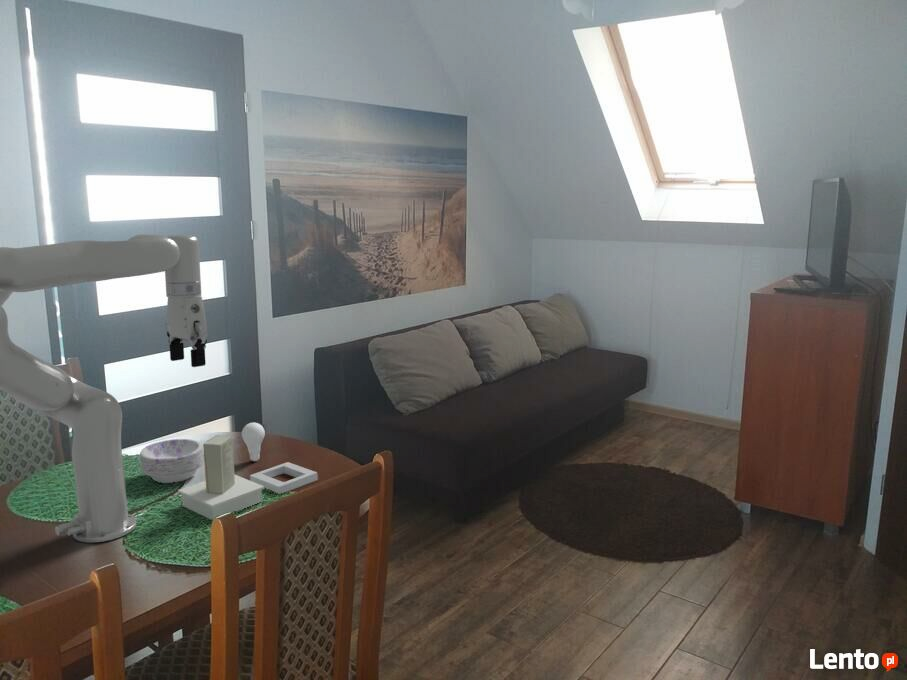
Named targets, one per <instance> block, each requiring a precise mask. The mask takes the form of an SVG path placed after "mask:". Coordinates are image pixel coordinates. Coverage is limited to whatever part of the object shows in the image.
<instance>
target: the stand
mask: <svg viewBox="0 0 907 680" xmlns="http://www.w3.org/2000/svg"><path fill="white" fill-rule="evenodd" d="M234 476H235V484H234V485H233V486H232V487H231V488H230V489H228V490H227V491H226V492H225V493H223V494H218V493H207V492H206V480H204V481H202V482H201V481H200V482H197V483H195V484H191V485H189V486H186V487H183V488H180V489H177V490H178V491H177V492H178V493H179V494H180V495H181V502H182V503H181V504H182V507H184V508H187V509H189V510H190V511H193V512H194V513H196V514H199V515H201V516H202V517H205V518H207V519H209V520H211V521H213V520H212V519H213V518H214V517H216V516H218V515H221V514H223V513H227V512H233V511H238V510H241V511H243V510H242V509H244V508H246V509H248V508H247V507H249V506H251V507H253V506H252V505H254V504H257V503H259V502H262V503H263V497H262V496H263V493H262V491H263V490H265V488H264V486H262V485H260V484H257V483H255V482H252V481H250V479H247V478H245V477H242V476H239V475H237V474H235V473H234ZM259 504H260V503H259ZM257 505H258V504H257ZM254 506H255V505H254ZM249 508H250V507H249ZM244 510H245V509H244ZM238 512H239V511H238ZM233 514H235V513H234V512H233Z"/></svg>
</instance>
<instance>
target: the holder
mask: <svg viewBox="0 0 907 680" xmlns="http://www.w3.org/2000/svg"><path fill="white" fill-rule="evenodd" d="M283 474H284V475H288V476H291V477H293V478H292V479H289V480H287V481H281V480H279V479H277V478H275V477H277V476H280V475H281V476H282V475H283ZM249 480H250V481H252V482H255V483H257V484H260V485H262V486H264V487H265V488H268V489H270V490H272V491H274V492H273V493H275V492H276V493H275V494H277V493H278V494H277V495H282V494H284V492H285V493H287V492H289V491H292V490H296V489H298V488H300V487H303V486H306V485H308V484H311V483H314V482H316V481H318V480H319V475H318V472H317V471H314V470H311V469H309V468H306V467H303V466H300V465H297V464H294V463H291V462H289V461H287V462H284V463H281V464H278V465H275V466H272V467H270V468H267V469H264V470H261V471H258V472H256V473H252V474H249ZM265 488H264V489H265ZM270 490H269V491H270ZM272 491H271V492H272ZM281 493H282V494H281Z"/></svg>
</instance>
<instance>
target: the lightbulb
mask: <svg viewBox="0 0 907 680" xmlns="http://www.w3.org/2000/svg"><path fill="white" fill-rule="evenodd" d="M265 435H266V432H265V428H264V427H263V425H261V424H260V423H258V422H249V423H247V424H245V425H244V427H243V428H242V431H241V439H242V440H243V441H244V443H245V445H246V446H247V451H248V454H249V460H250V461H252V462H258V460H260V452H261V447H262V446H261V445H262V443H263V441H264V438H265Z"/></svg>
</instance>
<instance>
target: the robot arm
mask: <svg viewBox="0 0 907 680" xmlns="http://www.w3.org/2000/svg"><path fill="white" fill-rule="evenodd" d="M199 243H200V242H199V240H198V238H197V236H195V235H191V234H170V235H159V234H137V235H133V236H132V237H131V236H130V237H129V239H128V240H114V241H113V240H111V241H110V240H107V241H105V240H71V241H65V242H59V243H52V244H51V243H50V244H42V245H41V244H40V245H33V246H25V247H24V246H23V247H15V248H14V247H7V246H1V247H0V390H1V391H2V392H4V393H7V394H8V395H9V396H10V397H11V398H12V399H14V401H16V402H19V403H20V404H22V405H25V406H27V407H28V408H31V409H33V410H35V411H37V412H38V413H40V414H43V415H45V416H47V417H49V418H52V419H53V420H55V421H58V422H59V423H61V424H64V425H65V426H68V427H69V428H71V429H72V430H73V433H72V434H73V436H72V437H73V438H72V444H71V445H72V446H71V455H72V456H71V459H72V466H73V474H74V482H75V483H74V484H75V491H76V500H77V509H78V513H75V514H73V519H71V520H70V521H69V522H67V523H62V524H59V525H57V526H55V528H54V531H55V534H56V535H57V536H61V535H63V534H67V535H68V536H69V537H70V536H72V537H73V539H74V540H76V541H78V542H82V543H90V544H91V543H101V542H107V541H113V540H115V539H118V538H121V537H124V536H126V535H128V534H129V533H131V532H132V531H133V530H135V528H136V527H137V518H136V517H135V516H134V515H132V514H130V513H129V509H128V500H127V490H126V481H125V480H126V479H125V468H124V460H123V451H122V450H123V449H122V427H123V426H122V424H123V410H122V407H121V405H120V403H119V401H118V400H117V399H116V398H115V396H113V395H112V394H111V393H109V392H107V391H104V390H102V389H100V388H98V387H94V386H91V385H89V384H86V383H85V382H82V381H81V380H78V379H76V378H74V377H73V376H71V375H69V374H68V373H67V372H66V371H65V370H63V369H62V368H61V367H59V366H58V365H55V364H52V363H51V362H48V361H46V360H43V359H41V358H39V357H37V356H35V355H33V354H32V353H30V352H28V351H27V350H25V349H24V348H22V347H20V346H18V345H17V344H15V343H14V342H13V341H12V339H11V338H10V336H9V328H8V327H9V321H8V314H7V313H6V310H5V309H4V307H3V305H4V304H5V303H6V302H7V300H8V299H9V298H10V296H11V295H12V294H13V293H28V292H34V291H41V290H42V291H43V290H47V289H52V288H58V287H59V288H60V287H65V286H72V285H77V284H83V283H90V282H101V281H102V282H103V281H108V280H109V281H110V280H113V279H115V280H116V279H122V278H123V279H125V278H131V277H140V276H146V275H151V274H157V273H158V274H159V273H163V272H164V276H165V277H164V278H165V294H166V296H165V297H166V298H167V305H166V307H167V308H166V309H167V312H166V314H167V315H166V316H167V317H166V318H167V320H166V323H165V329H166V335H167V337H168V339H167V342H168V345H169V357H170V358H169V359H170V361H172V362H174V361H181V360H182V361H183V360H184V359H185V349H184V348H185V347H184V346H185V345H184V342H183V341H188V342H189V344H190V347H191V348H192V349H190V366H191V368H197V367H204V366H206V364H207V363H206V348H207V343H208V334H209V332H208V331H207V319H206V317H207V316H206V311H205V310H206V309H205V305H204V300H203V297H202V284H201V283H202V282H201V264H200V263H201V261H200V244H199ZM195 341H196V342H195Z"/></svg>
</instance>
